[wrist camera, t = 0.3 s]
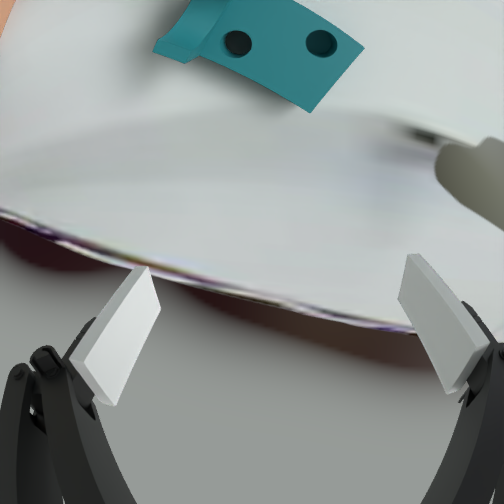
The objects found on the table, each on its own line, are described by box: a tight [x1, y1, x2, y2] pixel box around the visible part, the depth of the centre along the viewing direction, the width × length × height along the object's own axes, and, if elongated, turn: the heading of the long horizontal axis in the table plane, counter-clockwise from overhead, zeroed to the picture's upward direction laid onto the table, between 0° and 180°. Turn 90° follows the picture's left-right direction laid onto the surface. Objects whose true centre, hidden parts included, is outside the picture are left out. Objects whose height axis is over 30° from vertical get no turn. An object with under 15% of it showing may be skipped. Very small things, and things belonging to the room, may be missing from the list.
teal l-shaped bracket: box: [152, 0, 364, 113], centre depth 21 cm, size 18×11×10 cm, turn 60°
